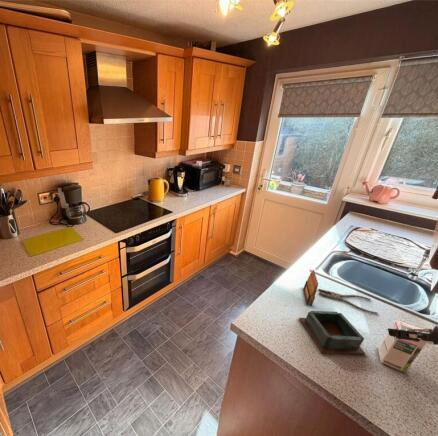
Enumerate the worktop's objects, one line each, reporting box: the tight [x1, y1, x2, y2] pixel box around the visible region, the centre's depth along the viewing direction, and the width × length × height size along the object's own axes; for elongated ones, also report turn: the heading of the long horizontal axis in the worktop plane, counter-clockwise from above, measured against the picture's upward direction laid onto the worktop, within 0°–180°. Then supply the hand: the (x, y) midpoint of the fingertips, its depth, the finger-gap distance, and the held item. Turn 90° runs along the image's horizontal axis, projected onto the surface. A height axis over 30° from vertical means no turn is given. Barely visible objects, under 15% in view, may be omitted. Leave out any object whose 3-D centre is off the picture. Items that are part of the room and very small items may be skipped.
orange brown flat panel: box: [302, 269, 319, 307], centre depth 99 cm, size 11×2×12 cm, turn 155°
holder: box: [298, 310, 366, 356], centre depth 83 cm, size 14×14×6 cm
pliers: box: [317, 288, 378, 315], centre depth 99 cm, size 10×1×20 cm
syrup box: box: [378, 319, 427, 373], centre depth 73 cm, size 6×6×14 cm
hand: (402, 332), depth 72 cm, fingers closed on syrup box, 7 cm apart
